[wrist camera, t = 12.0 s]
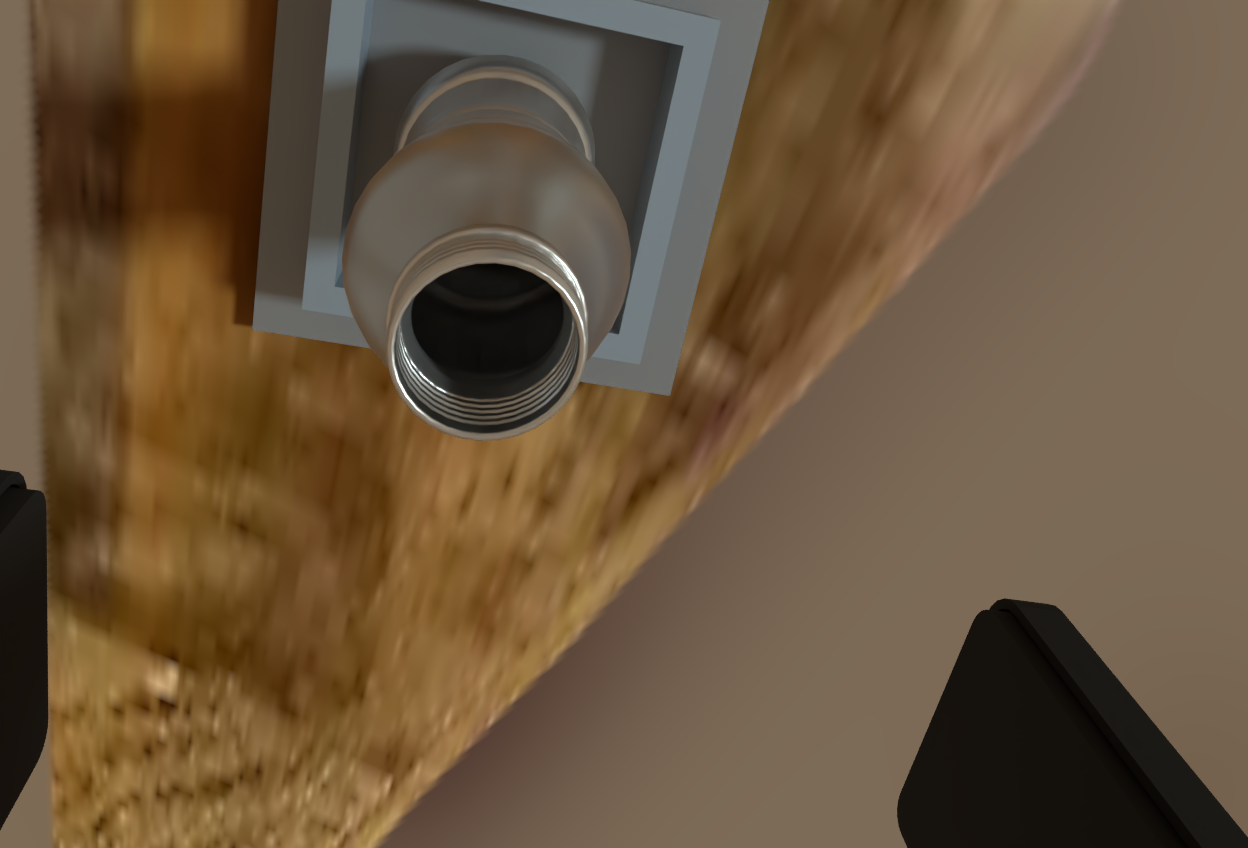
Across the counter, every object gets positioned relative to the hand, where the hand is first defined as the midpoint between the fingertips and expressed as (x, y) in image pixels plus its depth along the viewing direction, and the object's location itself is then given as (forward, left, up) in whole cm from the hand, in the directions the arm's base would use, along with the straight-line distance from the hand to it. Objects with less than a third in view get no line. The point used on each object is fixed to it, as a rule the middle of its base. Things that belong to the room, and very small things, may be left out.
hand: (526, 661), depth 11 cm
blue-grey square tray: (0, 0, -30) cm, 30 cm away
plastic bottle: (0, 0, -29) cm, 29 cm away
